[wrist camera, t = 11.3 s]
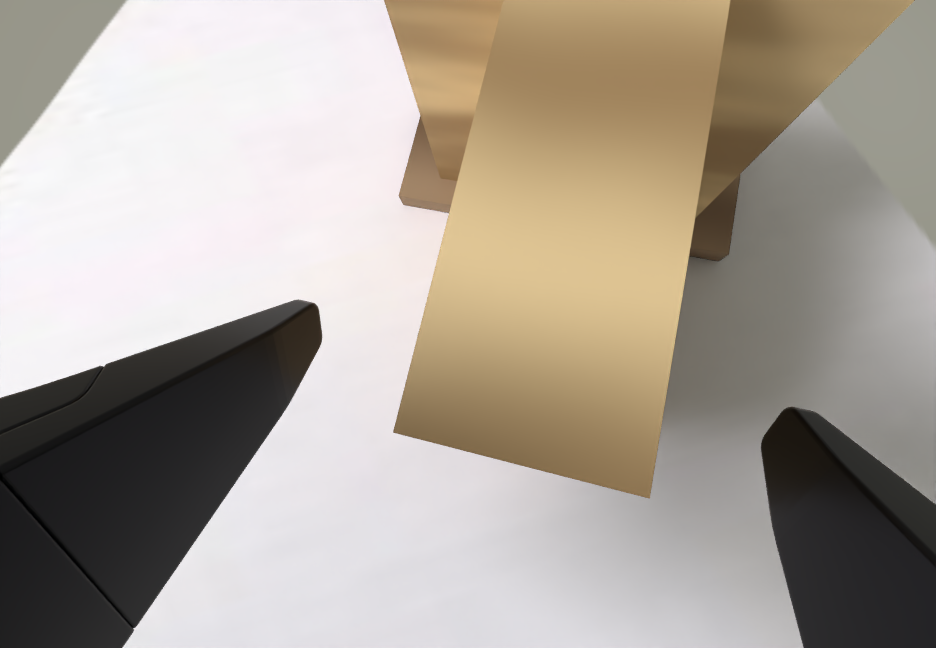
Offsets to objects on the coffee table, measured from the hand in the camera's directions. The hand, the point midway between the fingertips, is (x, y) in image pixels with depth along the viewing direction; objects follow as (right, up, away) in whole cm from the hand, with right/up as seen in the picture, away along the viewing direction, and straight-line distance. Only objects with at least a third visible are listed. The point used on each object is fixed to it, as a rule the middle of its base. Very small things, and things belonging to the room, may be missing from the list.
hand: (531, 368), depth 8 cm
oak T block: (+2, +4, +8) cm, 10 cm away
